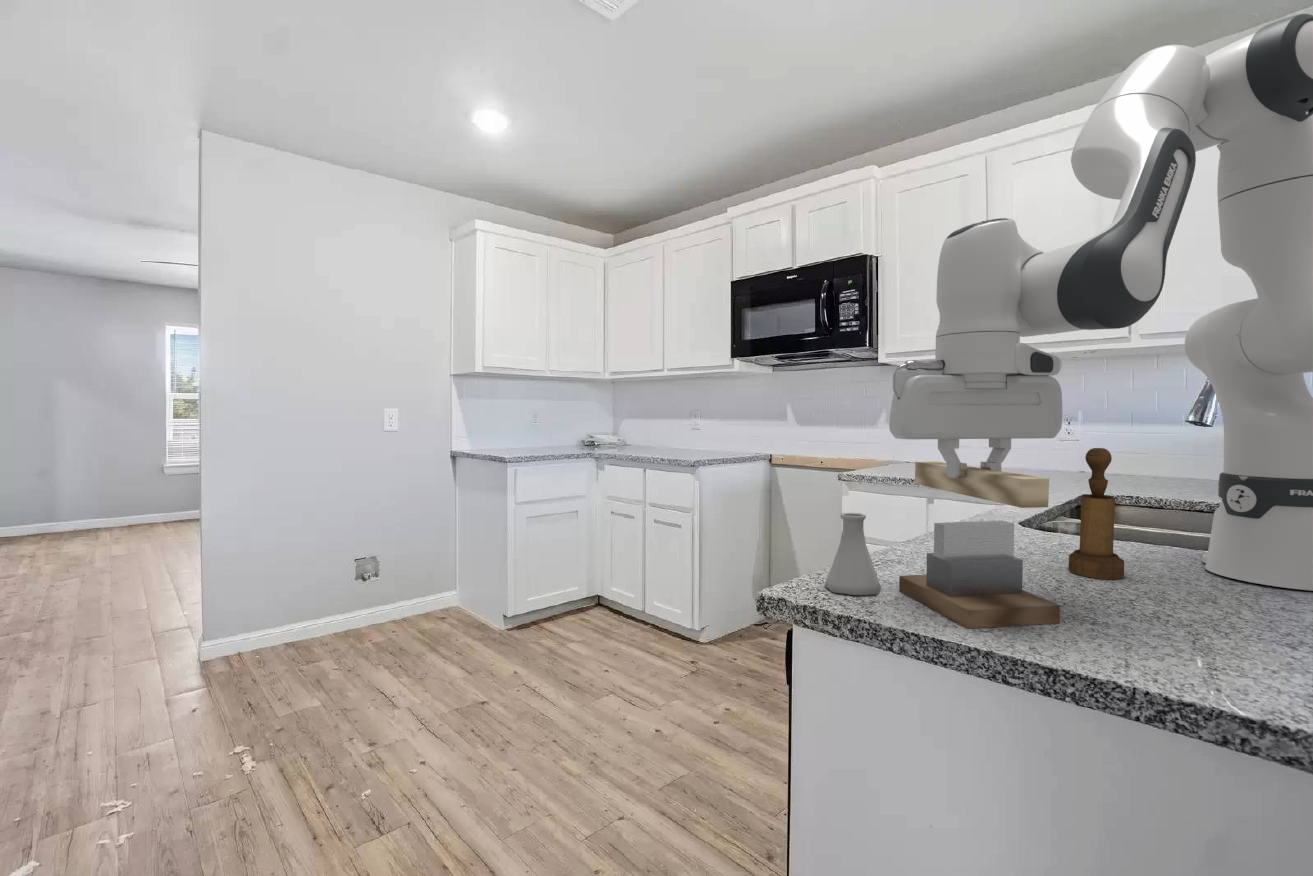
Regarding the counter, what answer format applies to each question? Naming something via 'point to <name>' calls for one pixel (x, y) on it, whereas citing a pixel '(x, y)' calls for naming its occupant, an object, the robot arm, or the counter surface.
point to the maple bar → (986, 484)
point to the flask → (853, 561)
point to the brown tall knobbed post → (1097, 525)
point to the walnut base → (983, 606)
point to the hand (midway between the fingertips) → (973, 477)
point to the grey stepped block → (974, 559)
